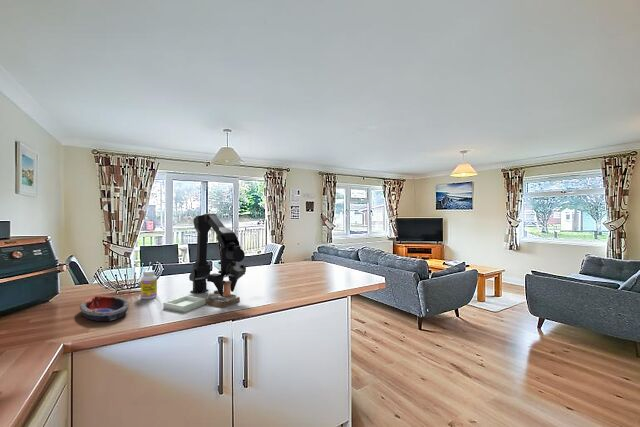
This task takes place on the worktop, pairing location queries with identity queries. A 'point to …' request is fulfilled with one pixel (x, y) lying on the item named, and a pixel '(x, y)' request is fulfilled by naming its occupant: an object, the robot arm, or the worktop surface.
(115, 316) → the dish
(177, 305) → the tray
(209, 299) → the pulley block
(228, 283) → the pin
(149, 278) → the supplement bottle
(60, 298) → the worktop surface
